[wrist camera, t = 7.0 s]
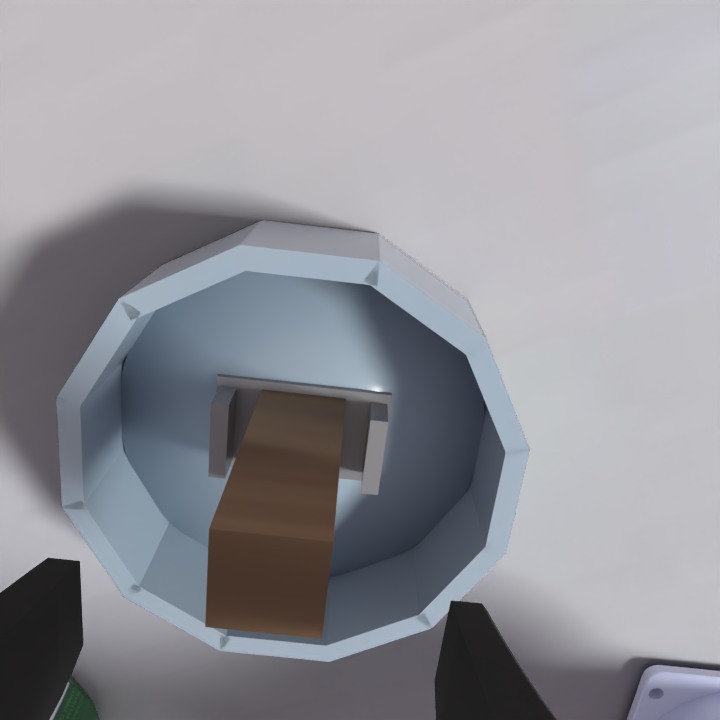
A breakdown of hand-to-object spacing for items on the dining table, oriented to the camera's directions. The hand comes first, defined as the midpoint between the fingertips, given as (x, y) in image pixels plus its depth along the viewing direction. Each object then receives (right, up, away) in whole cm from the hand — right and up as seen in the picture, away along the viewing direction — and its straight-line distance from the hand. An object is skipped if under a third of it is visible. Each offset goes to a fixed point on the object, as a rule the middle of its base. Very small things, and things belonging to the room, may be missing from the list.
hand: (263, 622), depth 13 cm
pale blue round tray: (0, +3, +8) cm, 9 cm away
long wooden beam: (0, +3, +8) cm, 8 cm away
